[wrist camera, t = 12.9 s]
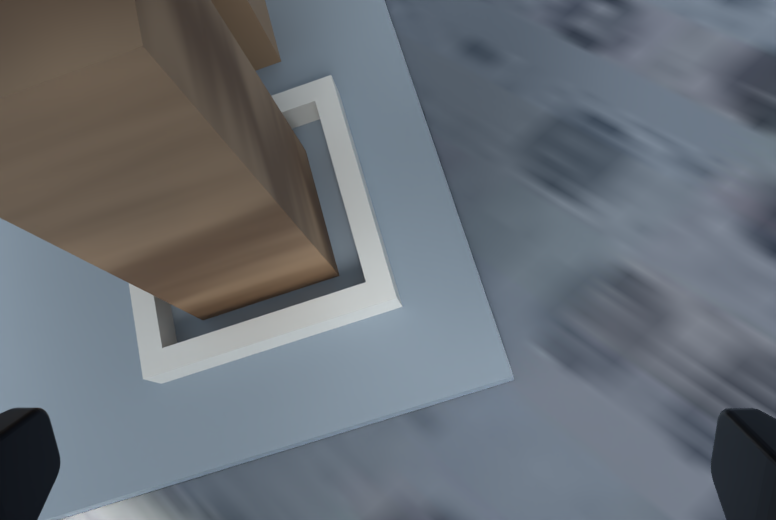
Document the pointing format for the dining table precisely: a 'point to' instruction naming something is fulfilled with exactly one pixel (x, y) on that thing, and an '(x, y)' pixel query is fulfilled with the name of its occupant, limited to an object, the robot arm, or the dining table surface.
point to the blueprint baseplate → (272, 316)
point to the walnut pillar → (155, 152)
